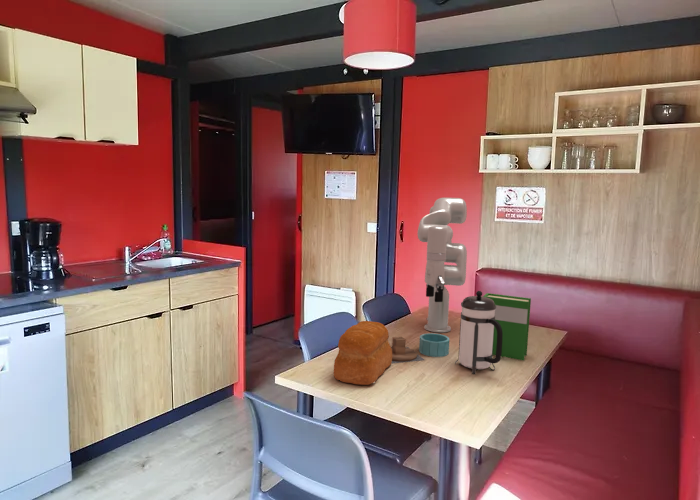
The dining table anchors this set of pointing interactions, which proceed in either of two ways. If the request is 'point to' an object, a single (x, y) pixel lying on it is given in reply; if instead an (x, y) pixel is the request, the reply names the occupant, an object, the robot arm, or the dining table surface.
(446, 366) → the dining table surface
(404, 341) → the lid
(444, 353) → the bowl
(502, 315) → the hardback book
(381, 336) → the bread
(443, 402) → the dining table surface
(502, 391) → the dining table surface
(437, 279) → the robot arm
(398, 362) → the mat
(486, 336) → the coffee press
